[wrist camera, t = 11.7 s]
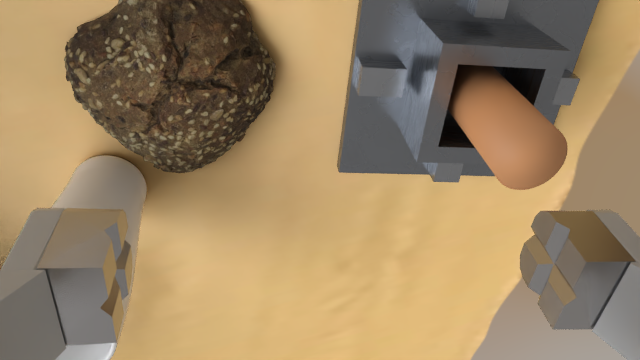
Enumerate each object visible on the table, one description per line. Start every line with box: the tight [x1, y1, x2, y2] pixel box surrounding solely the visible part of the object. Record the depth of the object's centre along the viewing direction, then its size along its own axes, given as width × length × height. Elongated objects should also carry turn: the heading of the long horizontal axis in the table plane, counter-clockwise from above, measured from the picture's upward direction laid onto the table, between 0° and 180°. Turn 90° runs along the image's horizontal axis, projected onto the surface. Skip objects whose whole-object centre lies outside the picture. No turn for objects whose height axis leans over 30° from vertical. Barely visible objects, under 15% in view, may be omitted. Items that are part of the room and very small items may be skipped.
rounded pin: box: [447, 64, 567, 190], centre depth 33 cm, size 4×4×11 cm
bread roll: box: [64, 0, 276, 173], centre depth 35 cm, size 13×12×5 cm
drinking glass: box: [51, 155, 147, 360], centre depth 34 cm, size 7×7×15 cm
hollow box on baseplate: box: [337, 0, 599, 182], centre depth 36 cm, size 16×16×6 cm
